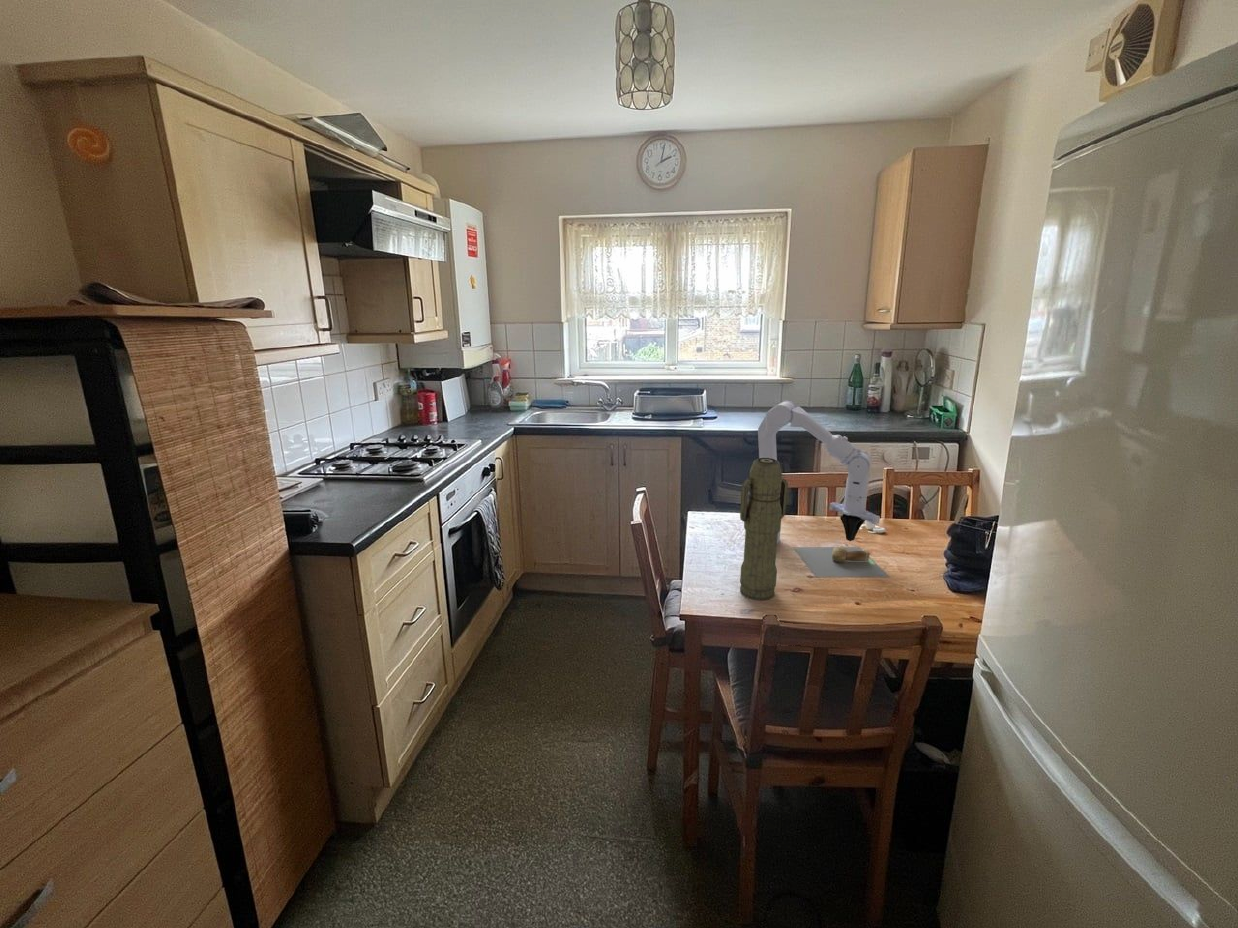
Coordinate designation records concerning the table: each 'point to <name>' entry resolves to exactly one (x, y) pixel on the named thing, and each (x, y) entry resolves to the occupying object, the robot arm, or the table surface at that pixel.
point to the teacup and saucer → (871, 527)
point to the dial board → (837, 563)
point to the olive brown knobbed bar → (849, 555)
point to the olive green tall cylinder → (761, 527)
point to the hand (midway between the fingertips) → (850, 539)
